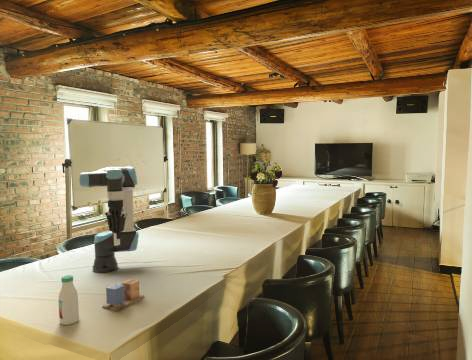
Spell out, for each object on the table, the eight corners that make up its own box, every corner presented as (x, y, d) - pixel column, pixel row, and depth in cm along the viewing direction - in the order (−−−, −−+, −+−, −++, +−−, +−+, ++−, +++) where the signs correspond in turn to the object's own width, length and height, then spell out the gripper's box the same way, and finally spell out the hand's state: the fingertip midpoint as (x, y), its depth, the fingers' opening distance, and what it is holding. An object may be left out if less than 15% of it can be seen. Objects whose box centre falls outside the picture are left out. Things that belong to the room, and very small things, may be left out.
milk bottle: (81, 316, 160) (79, 273, 158) (74, 325, 152) (72, 279, 150) (64, 317, 159) (62, 274, 158) (56, 325, 152) (54, 280, 150)
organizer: (102, 307, 169) (101, 289, 168) (129, 294, 185) (128, 277, 184) (118, 311, 164) (117, 292, 164) (144, 297, 181) (143, 279, 180)
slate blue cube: (106, 303, 169) (106, 287, 168) (115, 298, 174) (115, 283, 174) (116, 305, 167) (115, 289, 166) (124, 300, 172) (124, 285, 171)
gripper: (100, 199, 179) (102, 245, 181) (119, 200, 174) (121, 248, 176) (111, 197, 186) (112, 242, 188) (130, 199, 181) (132, 244, 182)
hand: (117, 244), depth 182 cm, fingers closed
